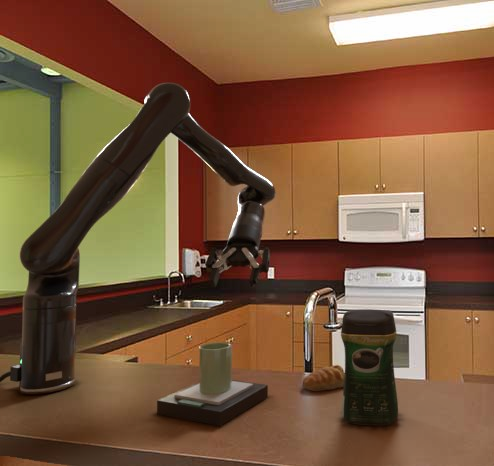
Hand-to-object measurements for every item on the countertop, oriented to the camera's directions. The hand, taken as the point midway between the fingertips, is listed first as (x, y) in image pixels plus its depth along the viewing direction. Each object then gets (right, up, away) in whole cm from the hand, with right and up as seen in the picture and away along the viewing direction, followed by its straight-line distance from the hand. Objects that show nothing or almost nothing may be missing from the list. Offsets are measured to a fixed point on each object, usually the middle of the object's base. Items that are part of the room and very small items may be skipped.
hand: (232, 284), depth 89 cm
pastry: (+21, -21, -4) cm, 30 cm away
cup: (+1, -18, -14) cm, 23 cm away
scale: (+1, -21, -14) cm, 25 cm away
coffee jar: (+30, -21, -20) cm, 41 cm away
